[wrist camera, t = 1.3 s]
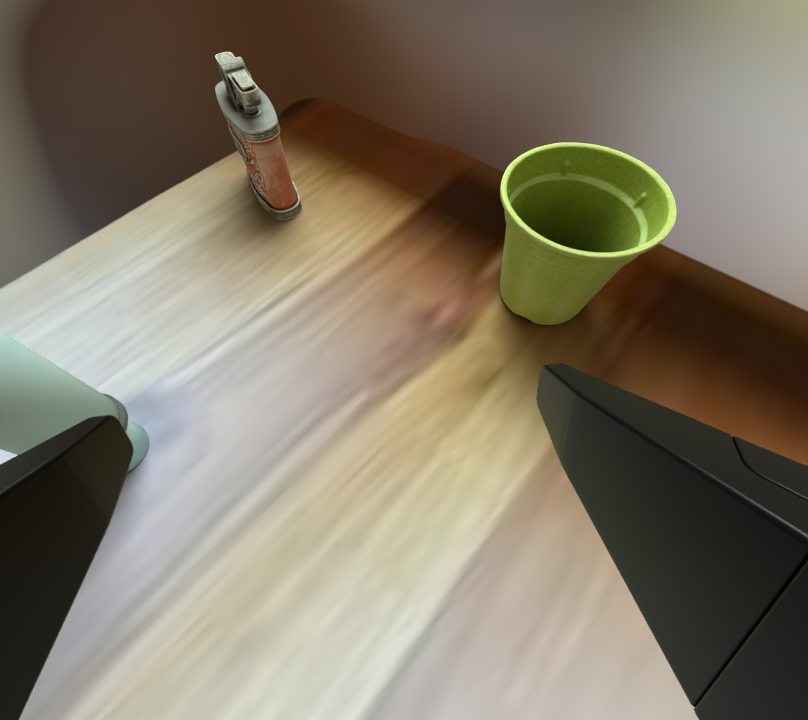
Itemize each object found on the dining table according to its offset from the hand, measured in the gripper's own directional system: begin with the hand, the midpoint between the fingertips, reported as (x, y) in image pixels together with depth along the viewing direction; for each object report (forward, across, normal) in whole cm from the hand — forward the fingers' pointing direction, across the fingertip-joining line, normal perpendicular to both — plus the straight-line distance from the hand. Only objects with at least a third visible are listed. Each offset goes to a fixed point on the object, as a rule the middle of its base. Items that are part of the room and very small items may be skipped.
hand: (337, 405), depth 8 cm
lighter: (+32, +7, -1) cm, 33 cm away
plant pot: (+20, -13, +6) cm, 25 cm away
